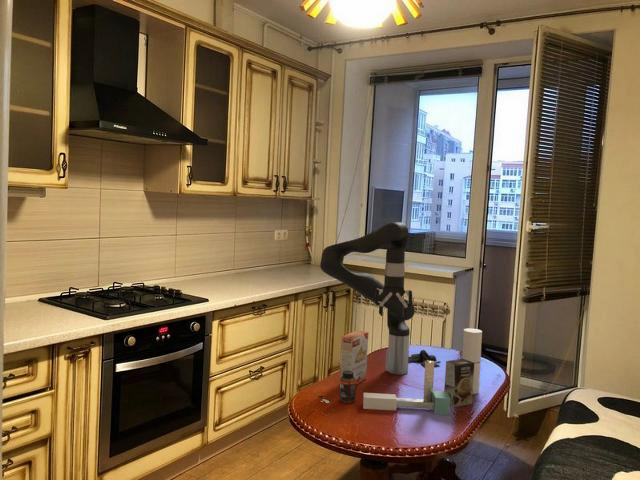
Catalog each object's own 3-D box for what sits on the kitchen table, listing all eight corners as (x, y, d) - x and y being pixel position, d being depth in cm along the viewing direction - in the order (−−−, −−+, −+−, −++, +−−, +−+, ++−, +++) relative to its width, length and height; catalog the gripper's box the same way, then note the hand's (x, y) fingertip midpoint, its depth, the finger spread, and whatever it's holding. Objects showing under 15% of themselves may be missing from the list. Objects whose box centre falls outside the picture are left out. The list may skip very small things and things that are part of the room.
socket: (434, 413, 186) (435, 397, 186) (431, 406, 193) (432, 390, 193) (449, 414, 186) (450, 398, 185) (445, 407, 193) (446, 391, 192)
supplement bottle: (356, 399, 198) (358, 370, 197) (352, 405, 192) (353, 375, 191) (342, 397, 200) (343, 368, 199) (337, 402, 194) (338, 373, 193)
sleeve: (363, 408, 189) (363, 397, 189) (363, 403, 194) (363, 392, 193) (396, 410, 188) (396, 399, 188) (395, 405, 193) (395, 394, 193)
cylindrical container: (479, 394, 207) (483, 333, 205) (461, 392, 208) (464, 331, 207) (477, 388, 214) (481, 329, 212) (460, 386, 215) (463, 327, 214)
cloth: (435, 371, 236) (436, 358, 236) (398, 363, 246) (398, 351, 245) (450, 359, 255) (451, 347, 255) (415, 353, 265) (415, 341, 264)
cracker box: (351, 389, 208) (353, 338, 207) (338, 386, 212) (340, 335, 210) (367, 379, 220) (369, 331, 219) (354, 376, 224) (356, 329, 222)
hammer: (387, 406, 189) (389, 361, 188) (387, 403, 192) (389, 358, 191) (442, 409, 188) (444, 363, 187) (440, 406, 191) (442, 361, 190)
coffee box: (454, 407, 193) (456, 365, 191) (443, 401, 198) (445, 360, 197) (472, 404, 197) (475, 362, 196) (461, 398, 202) (463, 357, 201)
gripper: (376, 275, 194) (374, 317, 195) (414, 276, 193) (412, 319, 194) (375, 272, 201) (373, 313, 202) (412, 273, 200) (410, 315, 201)
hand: (392, 316), depth 198 cm, fingers open, 8 cm apart
